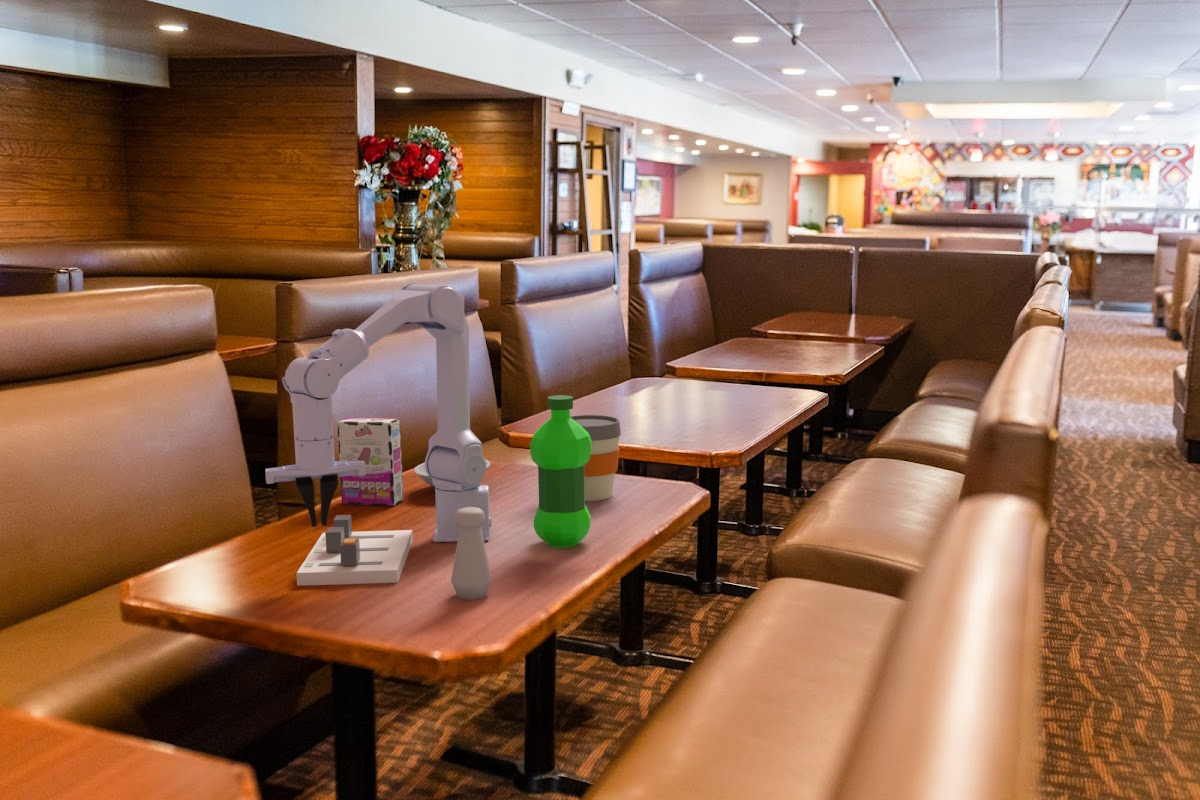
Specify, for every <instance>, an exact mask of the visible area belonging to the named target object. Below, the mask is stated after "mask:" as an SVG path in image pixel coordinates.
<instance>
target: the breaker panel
mask: <svg viewBox="0 0 1200 800" xmlns="http://www.w3.org/2000/svg"><path fill="white" fill-rule="evenodd" d="M325 532H326V531H325ZM325 532H324V531H323V532H322V533H321V535H320V537H319V538H318V539H317V541H316V543H315V544H314V545H313V547H312V549H311V550H310V552H309V553H308V554H307V556H306V558H305V560H304V561H303V563H302V564H301V565H300V567H299V568H298V570H297V572H296V585H297V586H326V585H327V586H328V585H329V586H330V585H332V586H333V585H361V584H362V585H365V584H367V585H368V584H391V583H392V584H393V583H394V584H396V583H399V580H400V579H401V578H400V577H401V575H402V572H403V569H404V566H405V564H406V561H407V558H408V555H409V553H410V549H411V547H412V544H413V542H414V541H413V539H414V538H413V529H405V530H404V529H401V530H400V529H399V530H398V529H397V530H367V531H352V534H351V536H350V538H356V539H359V546H360V560H359V562H358V564H357V565H342V566H341V553H340V552H326V535H325Z"/></svg>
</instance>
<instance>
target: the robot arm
mask: <svg viewBox="0 0 1200 800" xmlns="http://www.w3.org/2000/svg"><path fill="white" fill-rule="evenodd" d="M406 323H412V324H415V325H418V326H419V327H421V328H423V329H424V330H425V331H427V332H428V333H429V334H430V335H431V336H432V337H433V338H434V339H435V344H436V347H435V348H436V349H435V350H436V353H435V354H436V358H435V359H436V400H437V401H436V404H437V405H436V406H437V407H436V411H437V413H436V415H437V430H436V432H435V433H434V434H433V435H432V436H431V437H430V438H429V439H428V449H427V454H426V455H425V459H424V463H425V470H426V473H427V474H428V476H429V477H430V478H432V484H433V485H435V487H434V490H435V491H434V492H435V493H434V494H435V521H436V527H435V531H434V534H433V537H432V542H433V543H443V542H444V543H445V542H449V543H451V542H458V536H459V530H460V527H459V526H457V525H456V523H455V513H456V512H457V511H458V510H459V509H461V508H465V507H476V508H480V509H481V510H482V511H483V512H484V515H485V522H484V524H483V525H481V529H482V534H483V539H484V542H486V541H489V540H490V533H491V528H492V522H493V521H492V516H491V515H490V514H491V513H490V512H491V511H490V510H491V509H490V505H491V504H490V486H489V485H487V484H481V482H482V481H483V479H484V478H485V475H486V473H487V469H486V461H485V459H486V458H485V456H484V453H483V443H482V441H481V440H480V439H479V438H478V436H476V435H475V434H474V433H473V432H472V430H471V405H470V404H471V402H470V401H471V398H470V397H471V396H470V395H471V394H470V390H471V389H470V388H471V387H470V386H471V384H470V327H469V324H468V321H467V318H466V314H465V297H464V296H463V294H461V292H459V291H458V290H457V289H456V288H455V287H454V286H452V285H450V284H441V285H439V284H437V285H436V284H421V283H420V284H419V283H414V282H410V283H406V284H404V285H403V286H402V287H401V288H400V289H398V290H395V291H394V292H392V294H391V298H390V299H389V300H388V301H386V302H385V303H384V304H383V305H382V306H381V307H379V309H377V310H376V311H375V312H374V313H372V314H371V315H370V316H369V317H368V318H367V319H366V320H364V321H363V322H362V323H361V324H360V325H358V327H356V328H355V329H351V328H343V329H340V328H338V329H335V330H334V331H333V332H331V335H332V337H330V338H329V339H328V340H327V341H325V342H324V343H322V344H321V345H320V346H318V348H317V347H313V348H312V349H311V350H309V354H308V355H307V357H305V356H303V357H298V358H295V359H293V360H292V361H291V362H290V363H289V365H288V366H287V368H286V370H285V374H284V376H283V377H282V378H281V380H282V385H283V387H284V389H285V390H286V391H287V392H288V393H289V397H290V403H291V405H292V418H293V422H292V423H293V439H294V454H295V464H290V465H283V466H277V467H269V468H265V482H266V484H267V485H269V484H275V483H278V482H279V483H281V482H291V481H294V482H295V483H294V484H295V485H296V488H297V490H298V492H299V494H300V495H301V497H302V499H303V501H304V504H305V506H306V508H307V512H308V514H309V518H310V519H309V520H310V525H311V527H312V528H315V527H317V526H318V524H317V515H316V509H315V486H314V481H313V480H314V479H315V480H316V479H318V481H319V491H320V493H319V494H320V523H321V526H322V527H325V526H328V516H329V511H330V507H331V503H332V500H333V498H334V495H335V493H336V491H337V490H338V489H337V488H338V485H339V479H338V477H340V476H352V475H358V476H364V475H366V472H365V463H364V461H339V460H338V461H337V460H336V459H335V458H336V457H335V442H334V441H335V440H334V439H335V437H334V422H333V421H334V420H333V401H332V395H334V394H335V393H336V391H337V390H338V388H339V385H340V381H342V379H343V378H344V377H345V376H346V375H347V374H349V373H350V372H351V371H353V370H354V369H356V368H357V367H358V366H359V365H361V364H362V363H363V362H364V361H365V360H367V358H368V357H369V353H370V347H372V346H373V345H374V344H375V343H377V342H378V341H380V340H381V339H384V338H385V337H386V336H388V335H389V334H390V333H392V332H393V331H395V330H396V329H398V328H399V327H401V326H402V325H404V324H406ZM340 478H341V477H340Z"/></svg>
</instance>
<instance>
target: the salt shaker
mask: <svg viewBox="0 0 1200 800" xmlns="http://www.w3.org/2000/svg"><path fill="white" fill-rule="evenodd" d="M484 522H485V515H484V512H483V511H482V510H481V509H480V508H476V507H465V508H461V509H459V510H458V511H457V512H456V513H455V523H456V525H457V526H459V527H460V530H459V536H458V541H456V547H455V548H456V550H455V555H454V561H453V567H452V572H451V578H450V581H451V584H452V587H453V588H454V591H455V592H456V594H457V596H458V599H462V600H466V601H472V600H480V599H481V600H482V598H484V597H485V596H487V593H488V591H489V588H490V585H491V584H492V575H491V568H490V564H489V563H490V562H489V558H488V554H487V549H486V545H485V541H484V539H483V534H482V529H481V525H483V524H484Z"/></svg>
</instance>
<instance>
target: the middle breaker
mask: <svg viewBox="0 0 1200 800" xmlns="http://www.w3.org/2000/svg"><path fill="white" fill-rule="evenodd" d="M325 535H326V552H340V545H341V543H342V541H343V539H345V537H344V527H334V526H328V528H327V530H325Z"/></svg>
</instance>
